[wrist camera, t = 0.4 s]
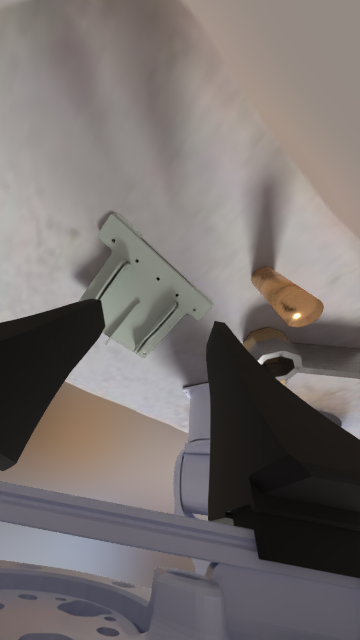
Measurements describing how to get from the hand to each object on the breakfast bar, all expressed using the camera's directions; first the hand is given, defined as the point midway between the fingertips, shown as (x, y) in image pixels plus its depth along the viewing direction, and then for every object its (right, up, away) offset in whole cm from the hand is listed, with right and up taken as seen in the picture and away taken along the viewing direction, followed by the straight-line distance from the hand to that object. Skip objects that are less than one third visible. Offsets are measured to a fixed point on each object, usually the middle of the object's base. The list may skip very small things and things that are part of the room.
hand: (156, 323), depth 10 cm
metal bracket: (-4, +3, +11) cm, 12 cm away
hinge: (+21, -6, +14) cm, 25 cm away
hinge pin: (+11, +5, +7) cm, 14 cm away
